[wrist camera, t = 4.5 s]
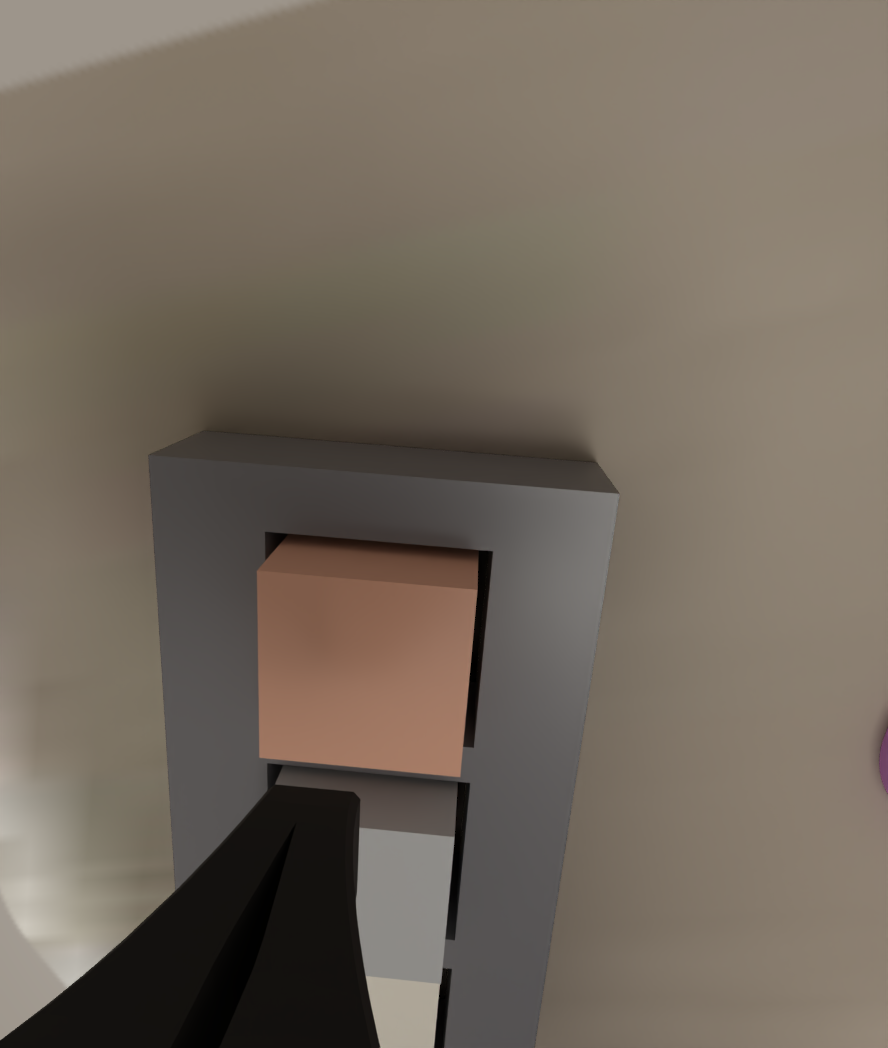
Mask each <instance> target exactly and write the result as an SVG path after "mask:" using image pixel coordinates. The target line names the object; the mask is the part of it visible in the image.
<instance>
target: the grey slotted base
mask: <svg viewBox="0 0 888 1048" xmlns="http://www.w3.org/2000/svg"><path fill="white" fill-rule="evenodd" d="M148 456H149V472H150V488H151V504H152V521H153V537H154V553H155V569H156V585H157V601H158V617H159V634H160V650H161V666H162V682H163V698H164V714H165V730H166V746H167V763H168V779H169V795H170V811H171V827H172V843H173V859H174V876H175V891H176V890H177V889H178V888H179V887H180V886H181V885H182V884H183V883H184V882H185V881H186V879H187V878H188V877H189V876H190V875H191V874H192V873H193V872H194V871H195V870H196V869H197V868H198V867H199V866H200V865H201V864H202V863H203V862H204V861H205V860H206V859H207V858H208V857H209V856H210V855H211V854H212V853H213V851H214V850H215V849H216V848H217V847H218V846H219V845H220V844H221V843H222V842H223V841H224V839H225V838H226V837H227V836H228V835H229V834H230V833H231V832H232V831H233V830H234V828H235V827H236V826H237V825H238V824H239V823H240V822H241V821H242V819H243V818H244V817H245V816H246V815H247V814H248V813H249V811H250V810H251V809H252V808H253V807H254V806H255V804H256V803H257V802H258V801H259V800H260V799H261V797H262V796H263V795H264V794H265V793H266V792H267V790H268V789H270V788H271V787H272V786H274V785H275V783H276V781H277V779H278V776H279V774H280V772H281V770H282V767H283V765H291V766H301V767H311V768H322V769H332V770H342V771H353V772H363V773H373V774H384V775H394V776H404V777H414V778H425V779H435V780H445V781H456V782H466V788H465V798H464V809H463V819H462V829H461V840H460V850H459V854H453V860H452V871H451V882H450V892H449V903H448V914H447V925H446V936H445V946H444V957H443V968H448V975H447V986H446V996H445V999H439V998H438V1009H437V1020H436V1031H435V1042H434V1048H534V1047H535V1041H536V1034H537V1028H538V1021H539V1015H540V1008H541V1002H542V995H543V989H544V982H545V976H546V969H547V963H548V956H549V950H550V943H551V937H552V930H553V924H554V918H555V911H556V905H557V898H558V892H559V885H560V879H561V872H562V866H563V859H564V853H565V846H566V840H567V833H568V827H569V820H570V814H571V807H572V801H573V794H574V788H575V781H576V775H577V768H578V762H579V755H580V749H581V742H582V736H583V729H584V723H585V716H586V710H587V703H588V697H589V690H590V684H591V677H592V671H593V664H594V658H595V651H596V645H597V638H598V632H599V625H600V619H601V612H602V606H603V599H604V593H605V586H606V580H607V573H608V567H609V560H610V554H611V547H612V541H613V534H614V528H615V521H616V515H617V508H618V502H619V495H620V494H619V492H618V491H617V489H616V488H615V487H614V485H613V484H612V482H611V481H610V480H609V478H608V477H607V476H606V474H605V473H604V471H603V470H602V469H601V467H600V466H599V464H598V463H594V462H582V461H569V460H557V459H545V458H533V457H520V456H508V455H496V454H483V453H471V452H459V451H446V450H434V449H422V448H409V447H397V446H385V445H372V444H360V443H348V442H335V441H323V440H311V439H298V438H286V437H274V436H261V435H249V434H237V433H225V432H212V431H202V432H200V433H197V434H195V435H193V436H190V437H188V438H186V439H184V440H181V441H179V442H177V443H175V444H172V445H170V446H168V447H165V448H163V449H161V450H159V451H156V452H154V453H152V454H150V455H148ZM288 534H299V535H311V536H322V537H334V538H345V539H357V540H369V541H380V542H392V543H404V544H415V545H427V546H439V547H450V548H462V549H474V550H485V551H488V558H487V569H486V579H485V590H484V600H483V611H482V621H481V631H480V642H479V652H478V663H477V673H476V682H469V687H468V698H467V709H466V720H465V730H464V741H463V752H462V763H461V774H460V777H453V776H443V775H432V774H422V773H412V772H401V771H391V770H381V769H370V768H360V767H350V766H340V765H329V764H319V763H309V762H298V761H288V760H278V759H267V758H259V687H258V614H257V570H258V569H259V568H260V566H261V565H262V564H263V563H264V562H265V561H266V560H267V558H268V557H269V556H270V555H271V554H272V553H273V551H274V550H275V549H276V548H277V547H278V546H279V545H280V543H281V542H282V541H283V540H284V539H285V538H286V536H287V535H288Z"/></svg>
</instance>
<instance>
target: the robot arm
mask: <svg viewBox="0 0 888 1048" xmlns="http://www.w3.org/2000/svg"><path fill="white" fill-rule="evenodd" d="M359 827H360V798H359V797H358V796H357V795H356V794H355V793H354V792H351V791H340V790H330V789H319V788H309V787H298V786H287V785H277V784H275V785H274V786H272V787H271V788H270V789H268V790H267V792H266V793H265V794H264V795H263V796H262V797H261V799H260V800H259V801H258V802H257V803H256V804H255V806H254V807H253V808H252V809H251V810H250V811H249V813H248V814H247V815H246V816H245V817H244V818H243V819H242V821H241V822H240V823H239V824H238V825H237V826H236V827H235V828H234V830H233V831H232V832H231V833H230V834H229V835H228V836H227V837H226V838H225V839H224V841H223V842H222V843H221V844H220V845H219V846H218V847H217V848H216V849H215V850H214V851H213V853H212V854H211V855H210V856H209V857H208V858H207V859H206V860H205V861H204V862H203V863H202V864H201V865H200V866H199V867H198V868H197V869H196V870H195V871H194V872H193V873H192V874H191V875H190V876H189V877H188V878H187V879H186V881H185V882H184V883H183V884H182V885H181V886H180V887H179V888H178V889H177V890H176V891H175V892H174V893H173V894H172V895H171V896H170V897H169V898H168V899H167V900H165V901H164V902H163V903H162V904H161V905H160V906H159V907H158V908H157V909H156V910H155V911H154V912H153V913H152V914H151V915H150V916H149V917H147V918H146V919H145V920H144V921H143V922H142V923H141V924H140V925H139V926H138V927H137V928H136V929H135V930H134V931H133V932H132V933H131V934H129V935H128V936H127V937H126V938H125V939H124V940H123V941H122V942H121V943H120V944H119V945H117V946H116V947H115V948H114V949H113V950H112V951H111V952H109V953H108V954H107V955H106V956H105V957H104V958H103V959H102V960H100V961H99V962H98V963H97V964H96V965H95V966H93V967H92V968H91V969H90V970H89V971H88V972H86V973H85V974H84V975H83V976H82V977H80V978H79V979H78V980H77V981H75V982H74V983H73V984H72V985H71V986H69V987H68V988H67V989H66V990H65V991H63V992H62V993H61V994H60V995H58V996H57V997H56V998H55V999H54V1000H52V1001H51V1002H50V1003H49V1004H47V1005H46V1006H45V1007H44V1008H42V1009H41V1010H40V1011H38V1012H37V1013H36V1014H34V1015H33V1016H32V1017H31V1018H29V1019H28V1020H26V1021H25V1022H24V1023H23V1024H21V1025H20V1026H19V1027H17V1028H16V1029H15V1030H13V1031H12V1032H11V1033H9V1034H8V1035H7V1036H5V1037H4V1038H3V1039H2V1040H0V1048H380V1044H379V1039H378V1035H377V1030H376V1026H375V1021H374V1016H373V1012H372V1007H371V1002H370V997H369V992H368V986H367V981H366V975H365V969H364V963H363V956H362V950H361V943H360V936H359V928H358V920H357V910H356V896H357V882H358V854H359Z"/></svg>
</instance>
